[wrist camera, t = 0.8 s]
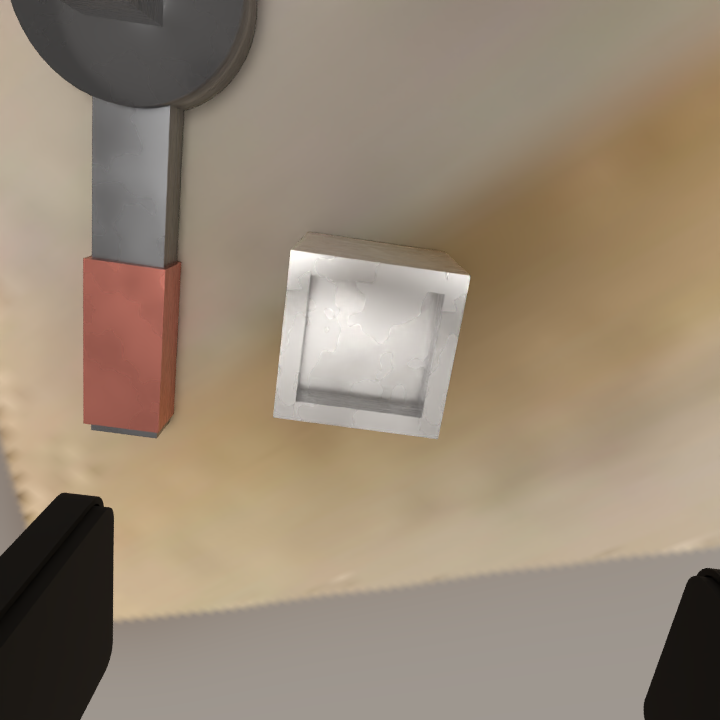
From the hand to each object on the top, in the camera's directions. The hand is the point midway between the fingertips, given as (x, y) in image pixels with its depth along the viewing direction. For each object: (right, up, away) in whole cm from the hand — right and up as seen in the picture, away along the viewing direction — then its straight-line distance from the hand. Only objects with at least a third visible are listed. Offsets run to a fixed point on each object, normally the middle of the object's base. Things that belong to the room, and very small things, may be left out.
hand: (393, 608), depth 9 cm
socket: (0, +6, +19) cm, 21 cm away
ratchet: (-10, +12, +18) cm, 24 cm away
